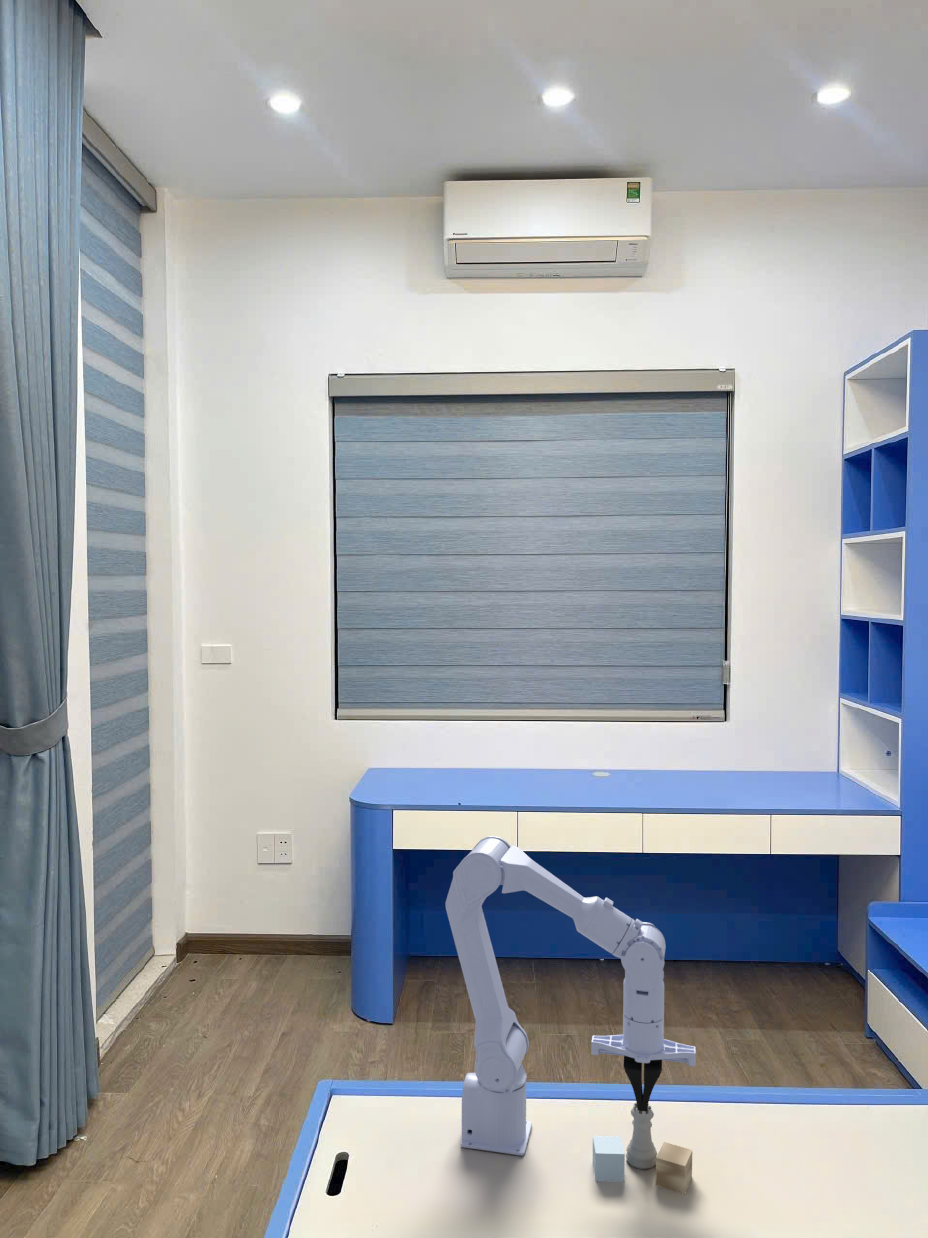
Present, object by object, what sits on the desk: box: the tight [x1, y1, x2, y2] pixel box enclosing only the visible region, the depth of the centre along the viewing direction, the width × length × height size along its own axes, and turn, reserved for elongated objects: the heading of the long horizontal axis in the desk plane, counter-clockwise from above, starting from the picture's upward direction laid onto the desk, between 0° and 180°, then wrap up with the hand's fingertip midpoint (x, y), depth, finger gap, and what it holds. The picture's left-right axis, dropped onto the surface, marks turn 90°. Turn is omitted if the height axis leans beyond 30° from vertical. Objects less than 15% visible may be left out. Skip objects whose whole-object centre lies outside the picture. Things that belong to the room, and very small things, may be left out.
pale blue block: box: [592, 1135, 626, 1183], centre depth 129 cm, size 4×4×4 cm
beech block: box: [655, 1141, 693, 1195], centre depth 127 cm, size 4×4×4 cm
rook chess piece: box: [625, 1102, 658, 1170], centre depth 131 cm, size 4×4×8 cm
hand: (642, 1107), depth 131 cm, fingers closed, pressing on rook chess piece
